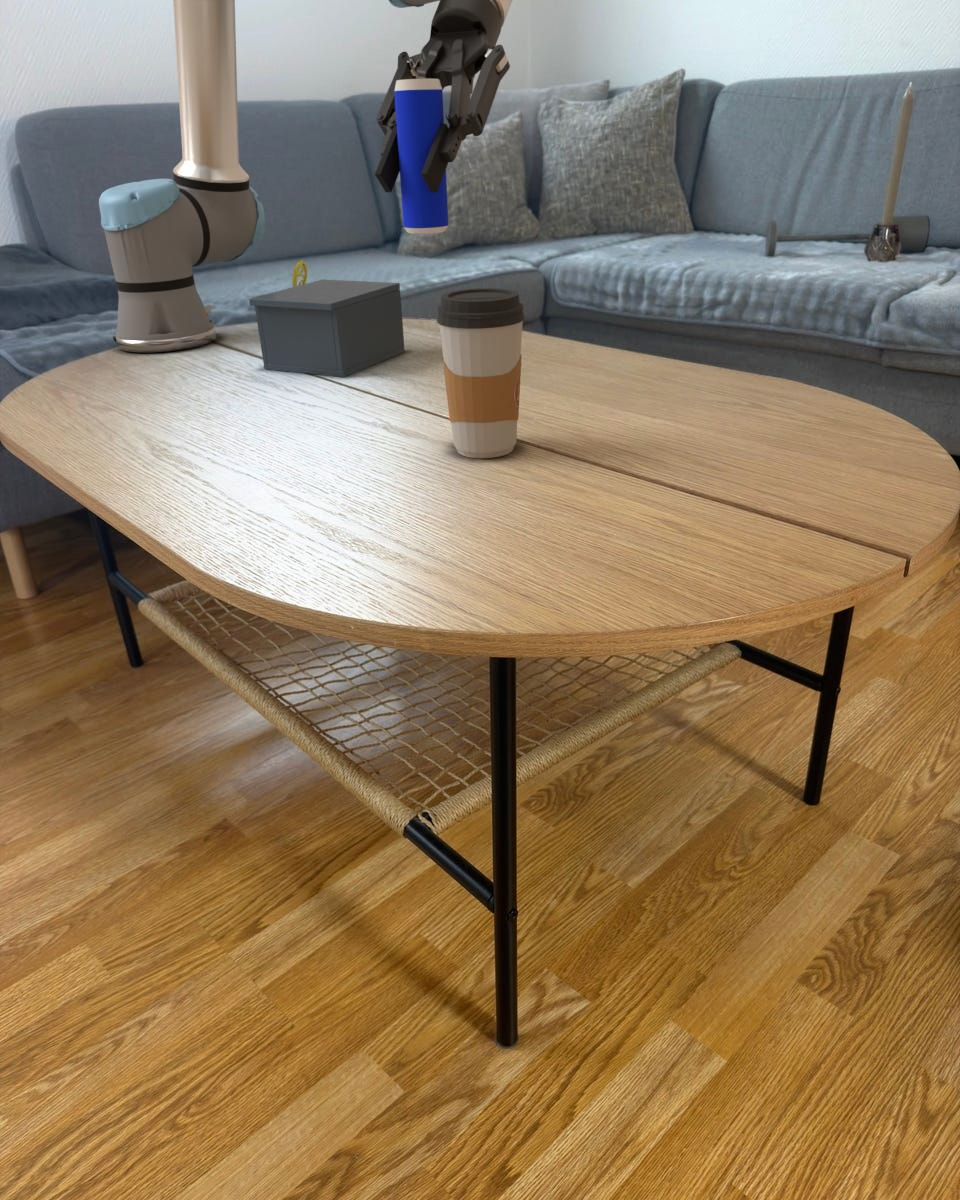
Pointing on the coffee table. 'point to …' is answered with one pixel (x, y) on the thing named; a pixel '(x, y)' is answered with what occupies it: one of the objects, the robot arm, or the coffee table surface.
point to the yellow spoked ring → (299, 273)
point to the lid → (325, 294)
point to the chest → (331, 336)
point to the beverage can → (419, 154)
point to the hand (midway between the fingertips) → (405, 183)
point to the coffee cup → (482, 368)
